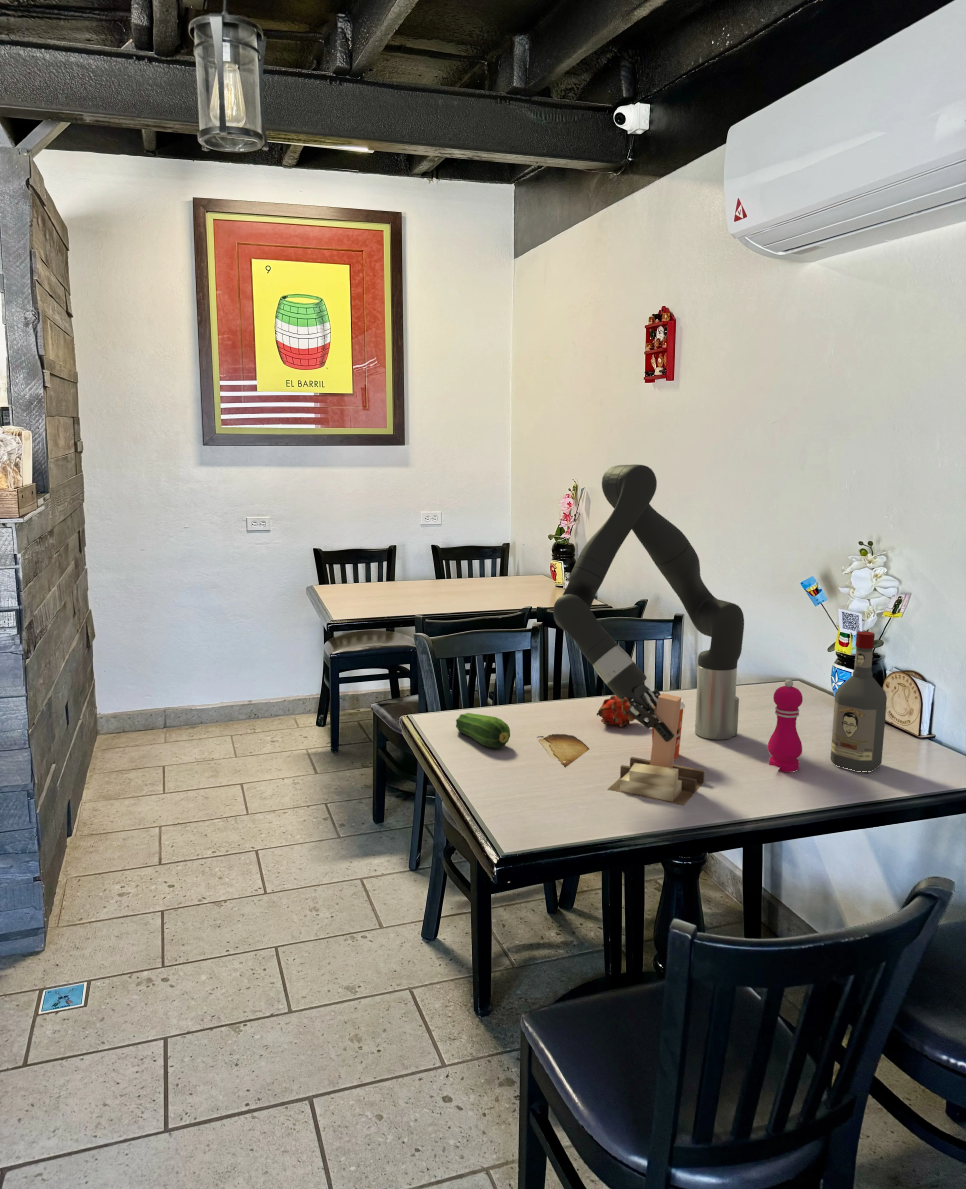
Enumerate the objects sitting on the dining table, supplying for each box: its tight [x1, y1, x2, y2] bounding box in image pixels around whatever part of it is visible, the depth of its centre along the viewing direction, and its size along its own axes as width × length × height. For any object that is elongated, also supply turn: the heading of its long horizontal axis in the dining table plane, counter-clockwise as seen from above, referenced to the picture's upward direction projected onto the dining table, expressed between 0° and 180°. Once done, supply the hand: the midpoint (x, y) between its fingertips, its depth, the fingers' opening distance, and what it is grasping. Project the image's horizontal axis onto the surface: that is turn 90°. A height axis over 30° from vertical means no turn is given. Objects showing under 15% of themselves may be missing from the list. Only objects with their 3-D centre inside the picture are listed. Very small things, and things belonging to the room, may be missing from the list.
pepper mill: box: [767, 679, 804, 773], centre depth 194 cm, size 7×7×20 cm
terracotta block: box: [649, 692, 682, 768], centre depth 184 cm, size 4×3×18 cm
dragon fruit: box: [596, 694, 637, 728], centre depth 224 cm, size 8×8×12 cm
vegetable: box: [455, 712, 511, 750], centre depth 213 cm, size 7×7×20 cm
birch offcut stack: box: [620, 763, 682, 802], centre depth 180 cm, size 11×6×5 cm, turn 60°
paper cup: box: [651, 698, 686, 760], centre depth 199 cm, size 8×8×14 cm
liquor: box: [830, 630, 888, 772], centre depth 194 cm, size 9×9×30 cm
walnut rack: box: [607, 756, 706, 806], centre depth 183 cm, size 16×14×4 cm
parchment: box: [536, 733, 590, 768], centre depth 205 cm, size 25×10×1 cm, turn 10°
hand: (673, 736), depth 183 cm, fingers closed on terracotta block, 2 cm apart
